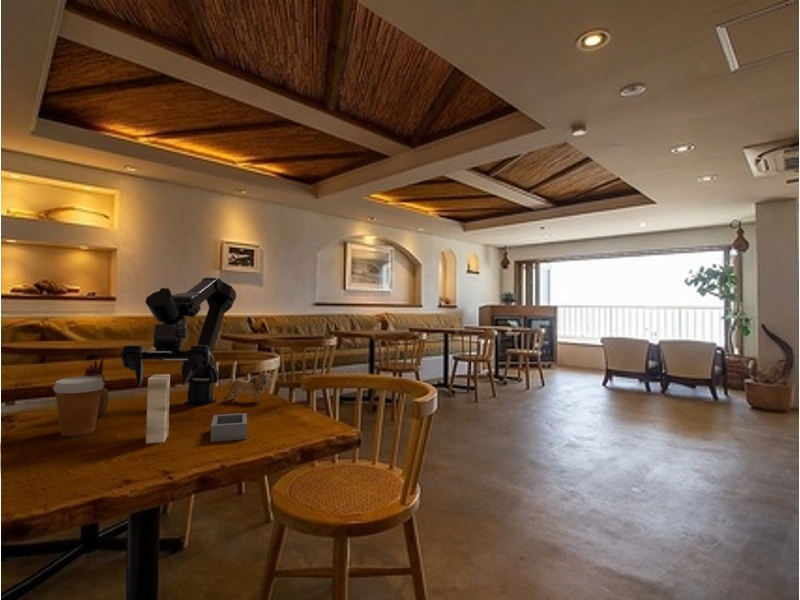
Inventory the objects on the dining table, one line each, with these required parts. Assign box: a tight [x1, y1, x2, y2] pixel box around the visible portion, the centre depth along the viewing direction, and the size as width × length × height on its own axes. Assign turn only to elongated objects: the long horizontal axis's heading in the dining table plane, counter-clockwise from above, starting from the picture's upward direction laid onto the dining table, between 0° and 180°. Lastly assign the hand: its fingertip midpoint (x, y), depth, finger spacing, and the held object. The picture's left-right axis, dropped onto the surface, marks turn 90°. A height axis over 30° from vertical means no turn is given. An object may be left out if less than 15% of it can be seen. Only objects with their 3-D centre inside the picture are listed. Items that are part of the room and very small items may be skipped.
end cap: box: [209, 412, 248, 442], centre depth 100 cm, size 9×8×4 cm
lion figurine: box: [223, 372, 273, 402], centre depth 131 cm, size 15×5×9 cm, turn 93°
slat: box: [145, 373, 171, 445], centre depth 95 cm, size 5×4×14 cm
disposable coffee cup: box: [52, 376, 105, 437], centre depth 99 cm, size 10×10×12 cm
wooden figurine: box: [82, 358, 110, 418], centre depth 111 cm, size 7×6×15 cm
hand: (161, 384), depth 99 cm, fingers open, 9 cm apart
